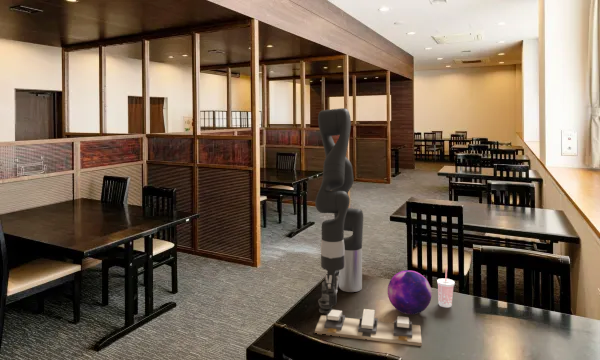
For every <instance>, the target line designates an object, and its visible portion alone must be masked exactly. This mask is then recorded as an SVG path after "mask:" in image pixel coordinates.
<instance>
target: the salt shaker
mask: <svg viewBox="0 0 600 360" xmlns="http://www.w3.org/2000/svg"><path fill="white" fill-rule="evenodd" d="M326 283H327V280H326V278H325V279H324V280H323V281H322V282H321V290H320V292H321V297H320V298H319V299H318V300H317V302H318V305H319V308H318V311H319V313H321V314H323V313H324V314H325V315H327V313H330V311H331V310H334V308H332V307H333V306H331V305H329V295H327V291H326V287H325V284H326ZM324 314H323V315H324Z"/></svg>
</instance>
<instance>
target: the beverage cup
mask: <svg viewBox="0 0 600 360" xmlns="http://www.w3.org/2000/svg"><path fill="white" fill-rule="evenodd" d="M444 273H445V275H444V276H445V278H438V279H437V280H436V282H437V294H438V295H437V299H438V300H437V301H438V305H439V307H442V308H451V307H452V306H453V296H454V295H453V294H454V287H455V285H456V283H455V280H453V279H450V278H448V268H447V267H446V268H445V272H444Z"/></svg>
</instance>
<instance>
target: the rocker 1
mask: <svg viewBox="0 0 600 360" xmlns="http://www.w3.org/2000/svg"><path fill="white" fill-rule="evenodd" d="M341 315H343V310H339V309H333V310H331V311H330V313H329V314H328V316H327V319H329V320H339V319H340V317H341Z"/></svg>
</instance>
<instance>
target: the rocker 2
mask: <svg viewBox="0 0 600 360" xmlns="http://www.w3.org/2000/svg"><path fill="white" fill-rule="evenodd" d="M375 311H376V310H375V309H367V308H363V312H362V317H363V318H362V324H361V328H367V329H373V324H374V318H375V314H376V313H375Z"/></svg>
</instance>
